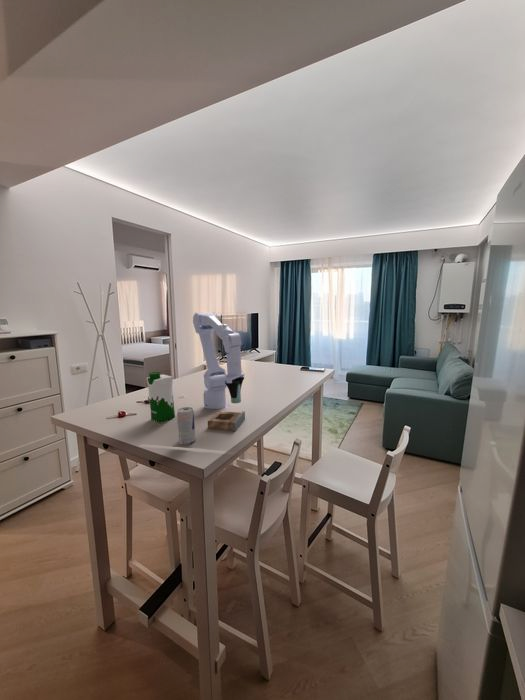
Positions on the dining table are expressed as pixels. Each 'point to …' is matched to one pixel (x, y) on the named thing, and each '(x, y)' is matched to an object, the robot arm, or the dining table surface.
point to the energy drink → (186, 425)
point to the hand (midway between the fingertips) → (235, 396)
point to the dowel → (238, 399)
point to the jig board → (238, 421)
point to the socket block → (222, 420)
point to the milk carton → (161, 397)
